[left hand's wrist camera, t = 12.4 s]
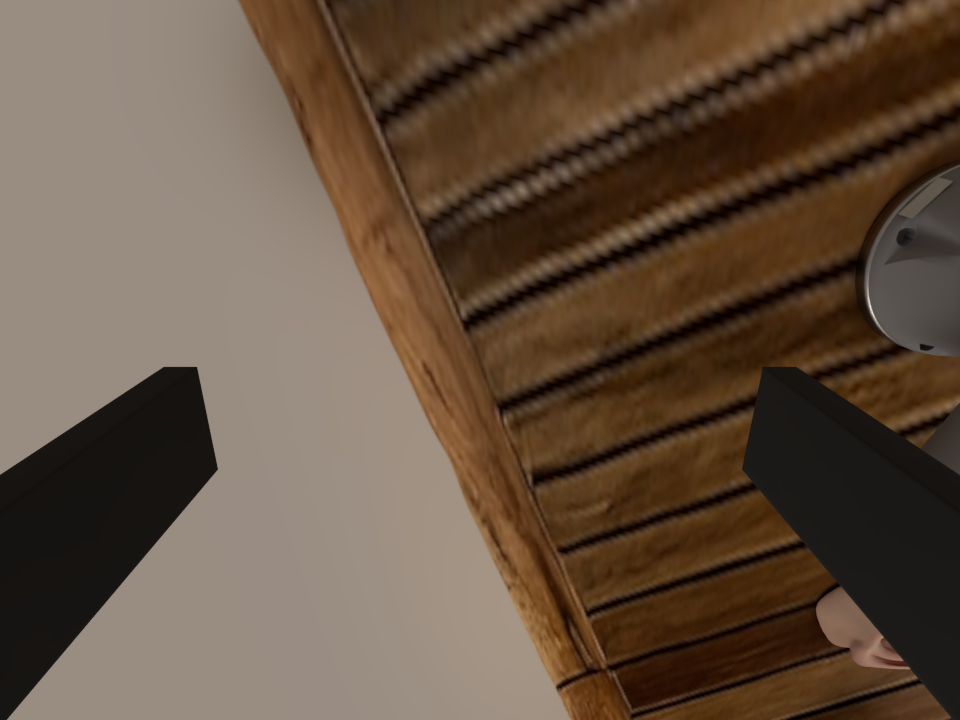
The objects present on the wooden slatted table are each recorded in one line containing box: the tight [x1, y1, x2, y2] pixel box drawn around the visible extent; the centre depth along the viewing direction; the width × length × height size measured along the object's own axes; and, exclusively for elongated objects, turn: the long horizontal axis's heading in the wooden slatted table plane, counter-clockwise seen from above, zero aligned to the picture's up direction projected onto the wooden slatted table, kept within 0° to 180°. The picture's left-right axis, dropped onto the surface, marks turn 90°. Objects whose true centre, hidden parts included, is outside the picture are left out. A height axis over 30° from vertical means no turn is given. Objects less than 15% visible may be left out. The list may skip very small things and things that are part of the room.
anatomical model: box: [816, 586, 910, 669], centre depth 54 cm, size 13×4×12 cm
